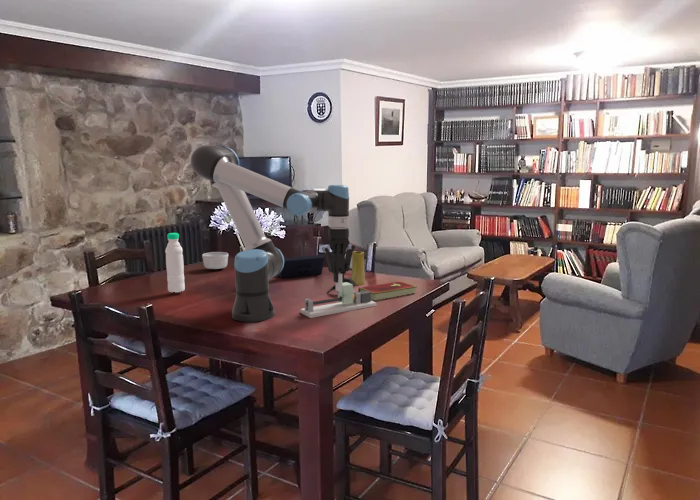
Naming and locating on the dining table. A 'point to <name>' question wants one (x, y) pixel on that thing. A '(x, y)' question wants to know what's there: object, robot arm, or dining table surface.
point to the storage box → (302, 266)
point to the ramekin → (215, 260)
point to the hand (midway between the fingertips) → (338, 290)
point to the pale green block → (346, 293)
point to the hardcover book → (389, 290)
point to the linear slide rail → (337, 305)
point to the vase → (358, 268)
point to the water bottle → (174, 264)
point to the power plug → (343, 282)
